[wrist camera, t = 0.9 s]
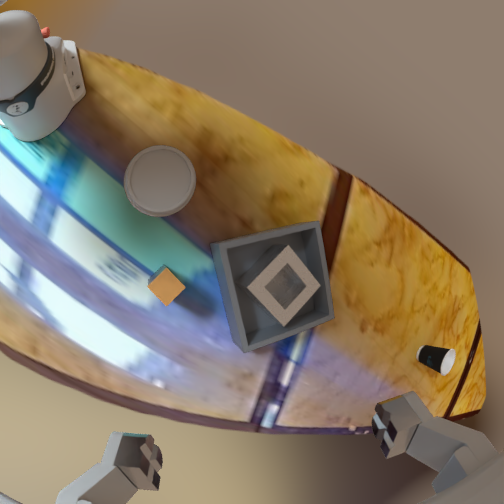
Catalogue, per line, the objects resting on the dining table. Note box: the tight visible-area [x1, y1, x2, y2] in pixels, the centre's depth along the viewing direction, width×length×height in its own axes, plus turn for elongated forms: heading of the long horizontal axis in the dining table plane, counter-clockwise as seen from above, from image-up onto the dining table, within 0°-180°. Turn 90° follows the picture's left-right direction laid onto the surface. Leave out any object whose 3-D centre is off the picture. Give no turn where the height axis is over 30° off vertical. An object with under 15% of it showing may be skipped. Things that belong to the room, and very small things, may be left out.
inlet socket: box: [235, 244, 321, 326], centre depth 48 cm, size 9×9×6 cm
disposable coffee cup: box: [124, 145, 196, 217], centre depth 39 cm, size 10×10×12 cm
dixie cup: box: [416, 345, 455, 376], centre depth 66 cm, size 8×8×11 cm
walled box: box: [210, 221, 334, 353], centre depth 49 cm, size 18×18×6 cm
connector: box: [147, 264, 186, 306], centre depth 42 cm, size 4×4×8 cm
